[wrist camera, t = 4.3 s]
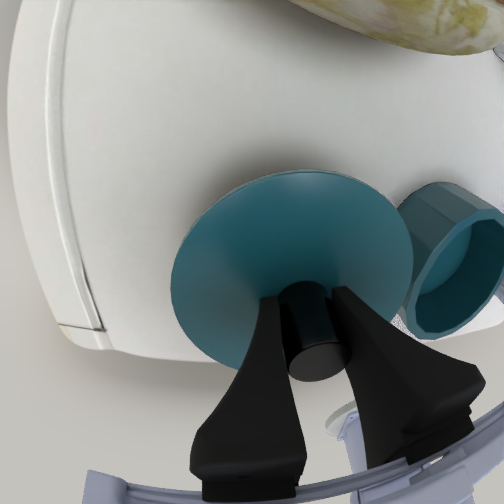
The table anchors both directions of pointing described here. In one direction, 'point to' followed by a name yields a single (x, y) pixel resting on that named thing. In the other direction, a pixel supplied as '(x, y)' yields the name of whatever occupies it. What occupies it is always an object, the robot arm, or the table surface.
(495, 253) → the teal round dish
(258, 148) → the table surface
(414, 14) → the sugar bowl
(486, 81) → the table surface
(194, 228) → the lid
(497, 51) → the rectangular carton
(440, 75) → the table surface
